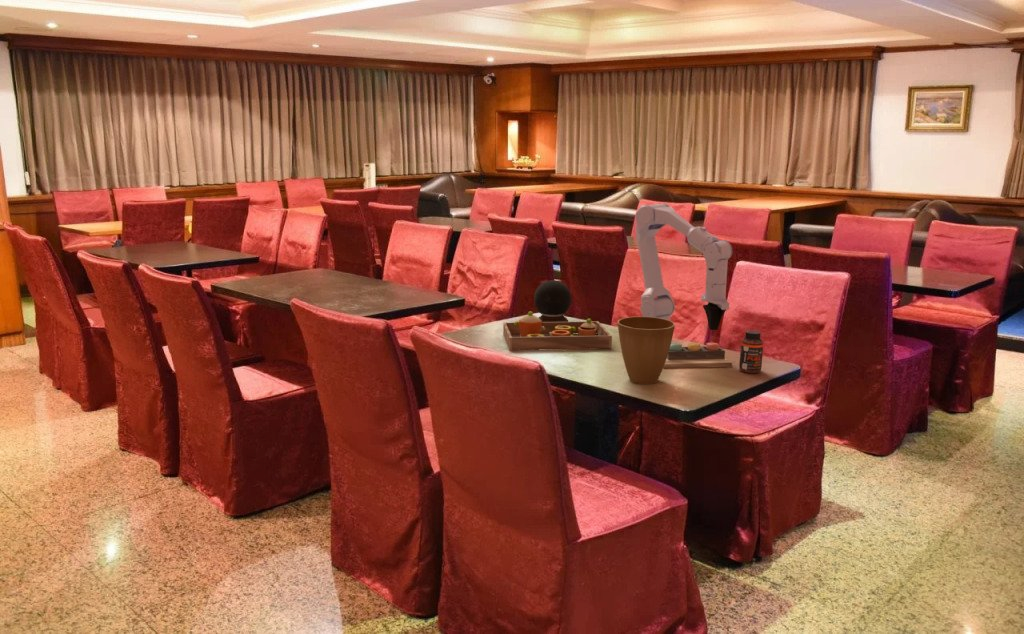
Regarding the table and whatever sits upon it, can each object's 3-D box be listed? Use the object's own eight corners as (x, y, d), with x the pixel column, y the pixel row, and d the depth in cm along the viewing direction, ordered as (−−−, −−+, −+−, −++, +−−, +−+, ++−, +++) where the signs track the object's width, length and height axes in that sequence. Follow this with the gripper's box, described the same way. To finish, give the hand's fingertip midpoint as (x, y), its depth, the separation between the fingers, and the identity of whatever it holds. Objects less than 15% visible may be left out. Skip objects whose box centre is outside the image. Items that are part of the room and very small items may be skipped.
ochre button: (685, 351, 246) (686, 342, 245) (697, 351, 246) (698, 342, 245) (689, 354, 242) (689, 345, 242) (701, 354, 242) (702, 345, 242)
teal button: (667, 351, 245) (667, 343, 245) (679, 351, 245) (679, 343, 245) (670, 354, 242) (671, 346, 241) (683, 354, 242) (683, 346, 241)
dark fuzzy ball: (533, 318, 302) (534, 277, 299) (570, 319, 301) (571, 277, 298) (533, 326, 289) (533, 283, 286) (571, 327, 288) (572, 283, 285)
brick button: (704, 350, 246) (704, 342, 246) (716, 350, 246) (716, 342, 246) (708, 353, 243) (708, 345, 242) (720, 353, 243) (720, 345, 242)
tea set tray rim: (503, 334, 276) (503, 322, 276) (597, 332, 279) (598, 321, 279) (509, 350, 255) (509, 337, 255) (611, 348, 258) (611, 336, 258)
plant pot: (604, 380, 224) (606, 321, 221) (638, 370, 235) (640, 314, 231) (649, 392, 214) (652, 331, 211) (683, 381, 224) (686, 322, 221)
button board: (650, 355, 250) (650, 343, 250) (715, 354, 252) (716, 342, 251) (662, 368, 237) (663, 355, 236) (731, 366, 239) (732, 354, 238)
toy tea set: (528, 350, 256) (528, 320, 254) (508, 339, 270) (508, 310, 268) (603, 343, 266) (604, 313, 264) (581, 333, 280) (581, 304, 278)
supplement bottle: (746, 374, 230) (748, 334, 228) (735, 369, 236) (737, 329, 234) (765, 373, 232) (768, 333, 230) (753, 367, 238) (756, 328, 235)
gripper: (692, 279, 247) (690, 324, 249) (713, 287, 233) (710, 335, 235) (715, 278, 248) (712, 323, 251) (737, 287, 234) (734, 334, 237)
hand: (713, 329), depth 243 cm, fingers closed
